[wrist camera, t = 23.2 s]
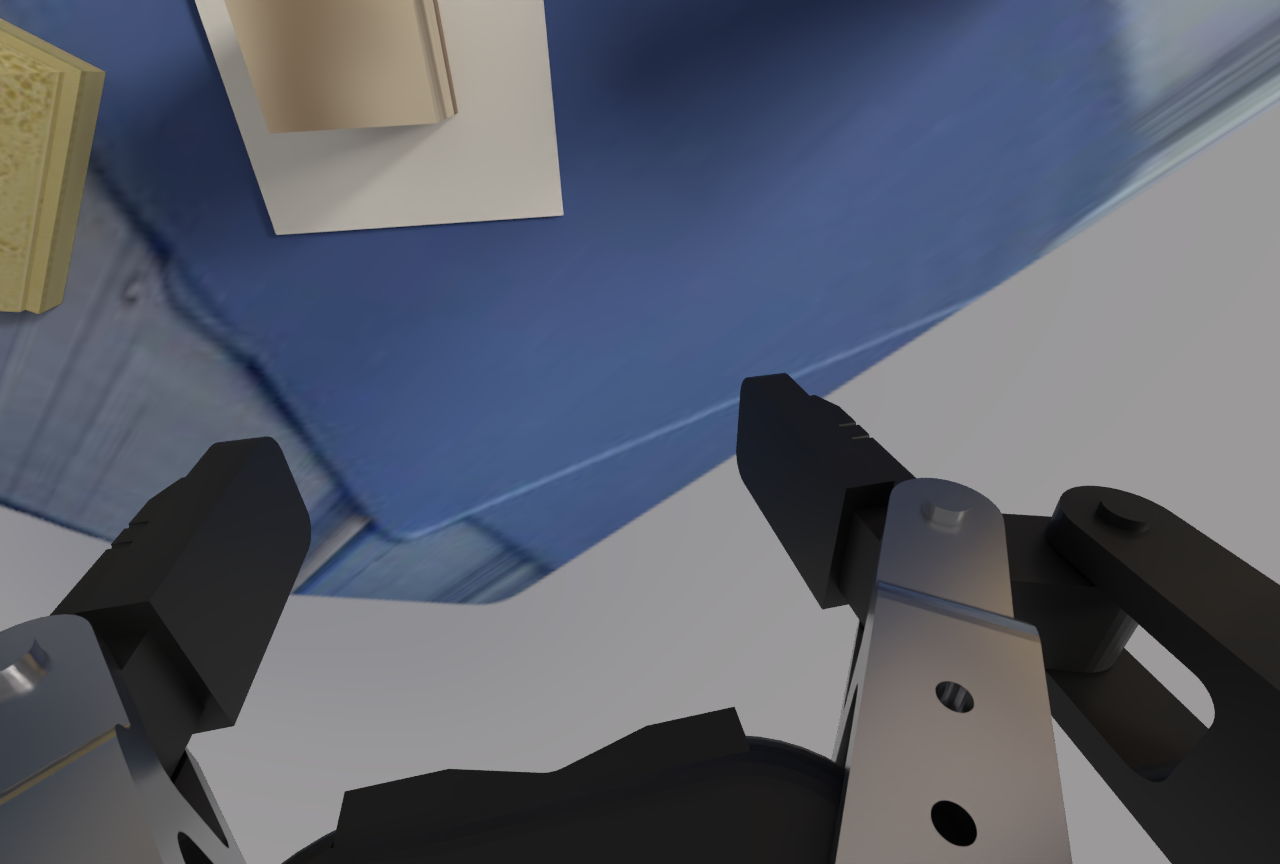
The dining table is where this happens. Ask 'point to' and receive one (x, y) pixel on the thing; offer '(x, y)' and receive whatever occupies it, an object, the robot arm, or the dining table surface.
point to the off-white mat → (416, 135)
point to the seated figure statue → (41, 164)
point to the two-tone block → (345, 62)
